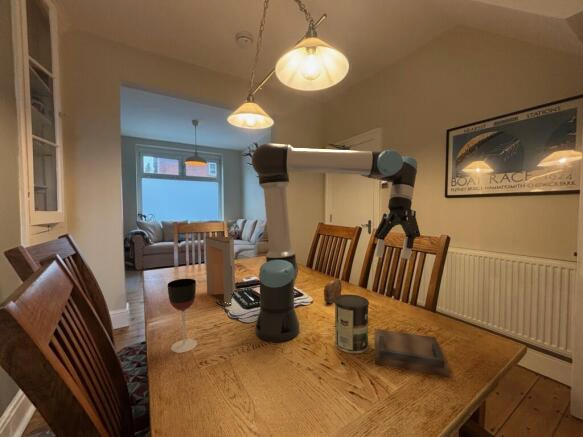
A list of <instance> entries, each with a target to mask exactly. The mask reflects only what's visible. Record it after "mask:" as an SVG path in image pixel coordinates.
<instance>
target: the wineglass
mask: <svg viewBox="0 0 583 437" xmlns="http://www.w3.org/2000/svg"><path fill="white" fill-rule="evenodd" d="M196 288H197V281H196V279H194V278H179V279H175V280H172V281H169V282H168V283H167V292H168V293H167V294H168V299H169V303H170V304H171V307H172V308H174V309H176V310H178V311H180V312H181V323H182V326H181V327H182V339H181V340H179V341H177V342H175V343H173V344H172V345H171V347H170V349H171V351H172V352H174V353H177V354H178V353H180V354H181V353H187V352H188V351H191V350H193V349H194V348H196V346H197V345H198V341H197V340H196V339H193V338H187V337H186V320H185V319H186V318H185V317H186V316H185V315H186V314H185V311H186V310H187V309H189V308H190V307H191V306H192V305H193V304H194V301H195V298H196ZM186 338H187V339H186Z"/></svg>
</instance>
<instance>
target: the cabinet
mask: <svg viewBox="0 0 583 437" xmlns="http://www.w3.org/2000/svg"><path fill="white" fill-rule="evenodd" d="M204 239H205V241H204V242H205V264H206V266H205V267H206V270H205V271H206V272H205V273H206V294H207V295H208V296H211V297H212V298H214V299H215V300H216V301H217V302H220V303H221V304H223V305H225V306H226V307H228V308H229V307H231V306H232V300H233V298H234V297H235V295H233V296H231V294H233V292H234V291H235V292H236V276H235V275H236V274H235V271H236V270H235V238H234V236H205V237H204ZM225 302H226V303H225ZM227 303H228V304H227ZM229 303H231V304H229Z"/></svg>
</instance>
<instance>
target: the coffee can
mask: <svg viewBox="0 0 583 437" xmlns="http://www.w3.org/2000/svg"><path fill="white" fill-rule="evenodd" d="M369 305H370V301H369V299H367V298H366V297H364V296H361V295H358V294H348V293H347V294H341V295H340V296H337V297H336V298H335V302H334V345H335V347H336V348H337V349H338V350H340V351H342V352H345V353H348V354H362V353H365V352H366V351H367V350H368V348H369Z"/></svg>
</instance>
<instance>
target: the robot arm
mask: <svg viewBox="0 0 583 437" xmlns="http://www.w3.org/2000/svg"><path fill="white" fill-rule="evenodd" d="M251 164H252V168H253V169H254V172H256V173H257V175H258V184H259V187H260V188H261V189H263V197H264V206H265V218H266V229H267V239H268V250H269V251H268V252H267V253H266V255H265V260H266V262H263V264H261V266H260V267H259V273H258V279H259V312H258V316H257V318H256V322H255V324H254V325H255V330H254V331H255V335H256V337H257V338H259V339H260V340H263V341H266V342H270V343H281V342H287V341H291V340H292V339H293V338H295V337H297V336H298V335H299V333H300V322H299V318H298V315H297V312H296V310H295V284H296V280H297V277H298V274H299V267H298V263H297V259H296V256H297V255H296V252H295V251H294V250H293V249H292V246H291V244H292V243H291V233H290V232H291V229H290V222H289V221H290V220H289V210H288V208H289V207H288V198H287V187H288V185H289V184H290V176H289V175H290V174H291V173H315V174H338V175H339V174H340V175H358V176H359V175H360V176H362V177H365V178H368V179H372V180H373V179H374V180H379V181H384V182H387V183H388V182H389V183H391V188H390V193H389V200H388V205H387V206H388V207H387V208H388V210H389V213H383V214H382V218H381V221H380V222H379V225H378V226H377V228H376V231H375V233H374V236H373V238H375V239H376V246H375V248H376V249H375V254H374V257H377V258H381V259H382V258H383V257H384V256H383V255H384V250H385V244H386V240H385V239H386V237H387V236H388V234H390V232H391V230H392V229H393V228H395V226H398V225H400V226H401V228H402V230H403V232H404V234H405V235H404V239H403V244H402V245H403V247H402V251H401V256H400V257H401V259H404V260H405V259H406V260H411V255H412V249H414V241H415V240H416V238H420V237H421V232H420V227H419V225H418V224H419V223H418V221H417V217H416V215H417V214H416V213H417V211H416V210H414V209H412V204H413V202H412V200H413V196H414V191H415V190H414V189H415V183H416V177H417V174H418V161H417V159H415V158H414V157H411V156H402V154H401V153H400V152H399V151H397V150H395V149H387V150H384V151H371V150H347V149H346V150H345V149H325V148H324V149H321V148H299V147H298V148H296V147H293V146H292V145H291V144H281V143H270V142H269V143H262V144H261V145H259V146H257V147H256V148H255V150H254V151H253V153H252V154H251Z"/></svg>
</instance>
